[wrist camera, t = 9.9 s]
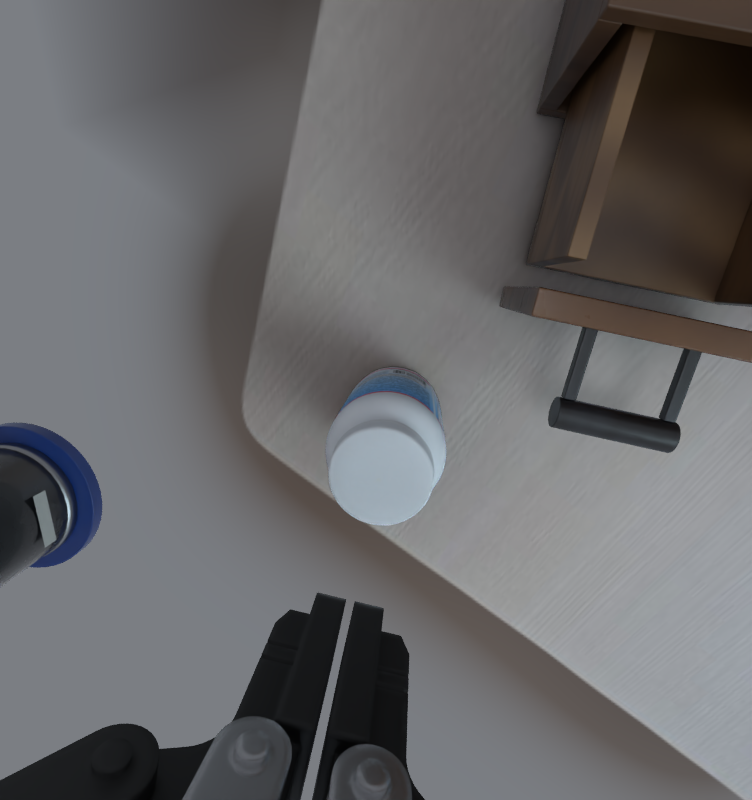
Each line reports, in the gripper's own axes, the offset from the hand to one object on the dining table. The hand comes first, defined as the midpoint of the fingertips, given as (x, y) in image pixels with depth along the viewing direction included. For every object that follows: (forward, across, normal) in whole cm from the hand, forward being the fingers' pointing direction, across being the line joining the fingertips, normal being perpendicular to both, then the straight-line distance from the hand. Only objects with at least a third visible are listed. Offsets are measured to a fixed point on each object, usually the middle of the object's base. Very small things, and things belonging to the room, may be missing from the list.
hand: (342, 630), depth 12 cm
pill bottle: (+21, 0, 0) cm, 21 cm away
